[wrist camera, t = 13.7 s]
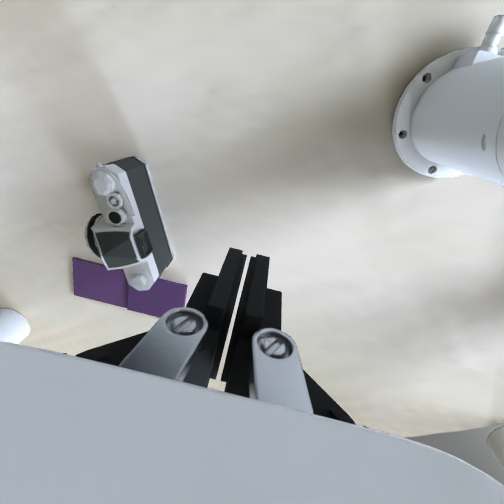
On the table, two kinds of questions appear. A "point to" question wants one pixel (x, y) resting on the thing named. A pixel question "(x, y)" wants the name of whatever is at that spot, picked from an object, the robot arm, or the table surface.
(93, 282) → the purple flat rectangular piece
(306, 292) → the table surface
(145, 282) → the camera
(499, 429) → the travel mug
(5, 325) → the gray bottle
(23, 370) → the robot arm
